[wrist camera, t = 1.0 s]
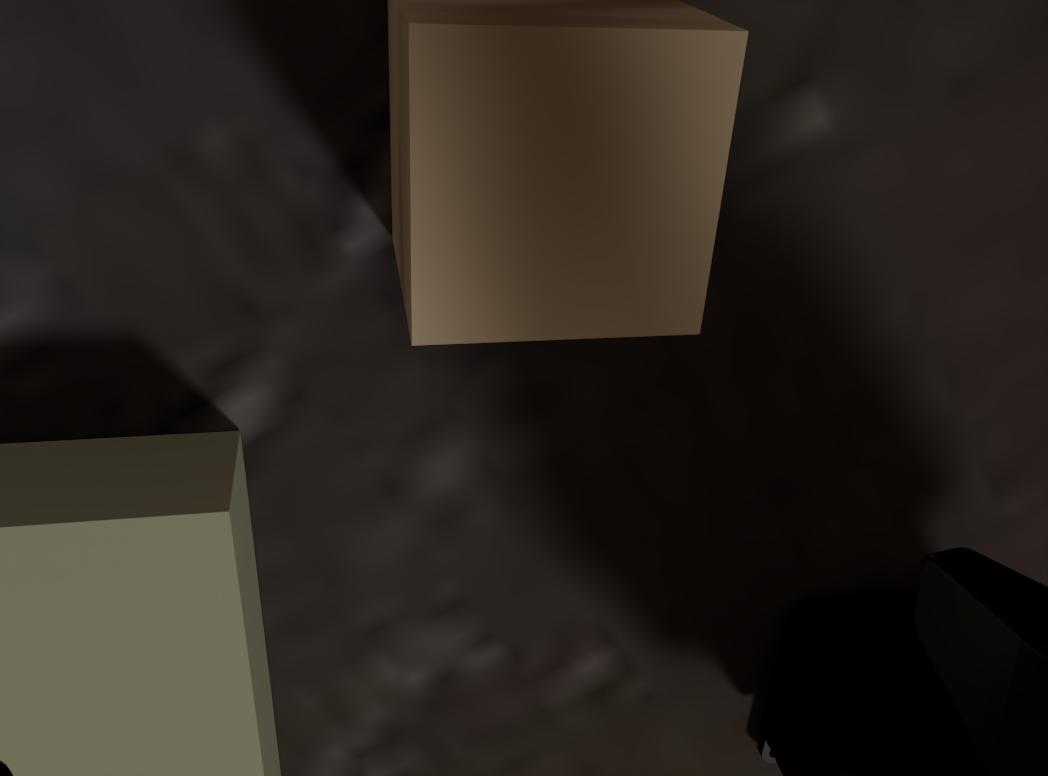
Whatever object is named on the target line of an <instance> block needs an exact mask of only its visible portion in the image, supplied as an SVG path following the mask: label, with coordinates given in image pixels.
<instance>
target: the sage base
mask: <svg viewBox="0 0 1048 776" xmlns="http://www.w3.org/2000/svg"><path fill="white" fill-rule="evenodd" d="M0 761H2V762H4V763H5V764H6V765H7V766H8V768H9V769H10V771H11V772H12V774H13V775H14V776H281V772H280V763H279V755H278V746H277V738H276V729H275V721H274V713H273V704H272V696H271V687H270V679H269V670H268V662H267V653H266V645H265V636H264V628H263V620H262V611H261V603H260V594H259V586H258V577H257V569H256V560H255V552H254V543H253V535H252V527H251V518H250V510H249V501H248V493H247V484H246V476H245V467H244V459H243V450H242V442H241V434H240V431H225V432H207V433H189V434H171V435H153V436H135V437H116V438H98V439H80V440H62V441H44V442H26V443H7V444H0Z"/></svg>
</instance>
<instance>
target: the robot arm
mask: <svg viewBox="0 0 1048 776" xmlns="http://www.w3.org/2000/svg"><path fill="white" fill-rule="evenodd" d="M757 748H758V750H759V753H760V755H761V757H762V758H763V760H764V761H766V762H768V763H776V762H777V764H778V766H779V768H780V770H781V772H782V774H783V776H1048V587H1047V586H1045V585H1043V584H1041V583H1039V582H1036V581H1034V580H1032V579H1030V578H1028V577H1026V576H1024V575H1022V574H1020V573H1018V572H1016V571H1014V570H1012V569H1010V568H1008V567H1006V566H1004V565H1002V564H1000V563H998V562H996V561H994V560H992V559H990V558H988V557H986V556H984V555H982V554H980V553H978V552H976V551H973V550H971V549H968V548H964V547H958V548H953V549H949V550H944V551H940V552H935V553H930V554H928V555H927V556H926V557H925V558H924V559H923V561H922V563H921V567H920V574H919V581H918V588H917V591H907V592H897V593H887V594H876V595H866V596H856V597H846V598H836V599H826V600H815V601H808V602H804V603H801V604H800V605H798V606H796V607H795V608H794V609H793V610H792V612H791V614H790V617H789V621H788V625H787V629H786V633H785V637H784V641H783V645H782V648H781V652H780V656H779V660H778V664H777V667H776V669H775V671H774V672H773V675H772V679H771V683H770V687H769V691H768V695H767V699H766V703H765V707H764V711H763V714H762V718H761V722H760V734H759V738H758V742H757ZM0 776H14V775H13V774H12V772H11V771H10V769H9V768H8V766H7V765H6V764H5V763H4V762H2V761H0Z"/></svg>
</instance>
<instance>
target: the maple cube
mask: <svg viewBox="0 0 1048 776" xmlns="http://www.w3.org/2000/svg"><path fill="white" fill-rule="evenodd" d="M747 37H748V31H747V30H744V29H742V28H740V27H738V26H735V25H733V24H731V23H729V22H726V21H724V20H722V19H720V18H717V17H715V16H713V15H711V14H708V13H706V12H704V11H702V10H699V9H697V8H695V7H693V6H690V5H688V4H686V3H684V2H681V1H679V0H388V40H389V89H390V139H391V188H392V238H393V244H394V249H395V255H396V260H397V266H398V271H399V277H400V282H401V288H402V293H403V299H404V305H405V310H406V316H407V321H408V327H409V332H410V338H411V343H412V346H415V345H440V344H465V343H490V342H515V341H541V340H566V339H591V338H616V337H641V336H666V335H691V334H700V330H701V323H702V317H703V311H704V305H705V298H706V292H707V286H708V280H709V273H710V267H711V261H712V255H713V249H714V242H715V236H716V230H717V224H718V217H719V211H720V205H721V199H722V193H723V186H724V180H725V174H726V168H727V161H728V155H729V149H730V143H731V136H732V130H733V124H734V118H735V112H736V105H737V99H738V93H739V87H740V80H741V74H742V68H743V62H744V55H745V49H746V43H747Z"/></svg>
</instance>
